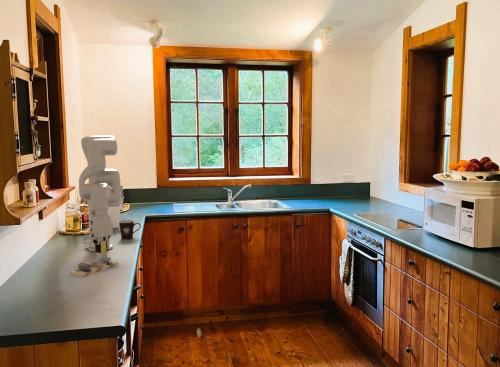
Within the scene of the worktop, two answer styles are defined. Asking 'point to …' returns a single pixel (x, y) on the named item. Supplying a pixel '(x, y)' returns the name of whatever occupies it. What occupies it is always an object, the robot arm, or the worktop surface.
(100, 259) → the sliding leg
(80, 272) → the board
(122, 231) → the coffee mug
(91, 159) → the robot arm
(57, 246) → the worktop surface
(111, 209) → the cup
